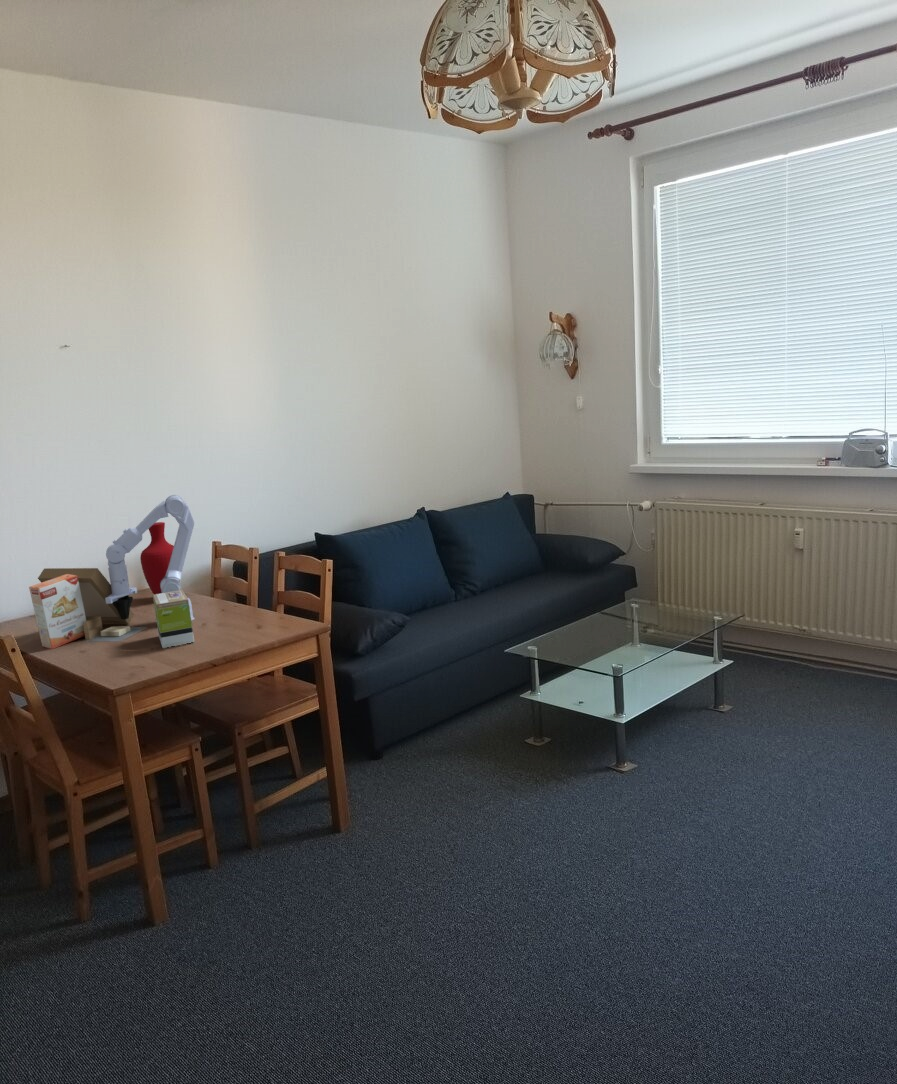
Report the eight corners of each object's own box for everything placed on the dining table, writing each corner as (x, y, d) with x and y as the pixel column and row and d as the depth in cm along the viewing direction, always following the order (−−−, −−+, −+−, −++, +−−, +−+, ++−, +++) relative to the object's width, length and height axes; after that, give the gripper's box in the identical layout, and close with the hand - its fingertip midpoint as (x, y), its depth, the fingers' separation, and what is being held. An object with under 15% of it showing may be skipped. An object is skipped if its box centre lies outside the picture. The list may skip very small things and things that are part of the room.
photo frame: (130, 625, 295) (85, 593, 275) (79, 624, 302) (31, 593, 281) (143, 587, 302) (100, 553, 282) (93, 587, 309) (47, 554, 288)
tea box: (157, 637, 278) (151, 593, 275) (189, 632, 281) (183, 588, 279) (161, 649, 264) (155, 603, 261) (195, 643, 268) (189, 597, 265)
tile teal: (129, 626, 286) (118, 631, 280) (130, 631, 286) (119, 636, 280) (111, 626, 288) (100, 631, 282) (112, 631, 288) (101, 636, 282)
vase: (138, 604, 326) (128, 527, 321) (158, 594, 340) (147, 520, 335) (174, 603, 324) (164, 525, 318) (192, 593, 338) (182, 519, 332)
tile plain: (99, 633, 286) (96, 616, 285) (103, 633, 286) (100, 616, 285) (85, 639, 280) (82, 622, 279) (89, 639, 279) (87, 622, 278)
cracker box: (53, 650, 271) (38, 588, 266) (41, 647, 274) (27, 586, 269) (90, 634, 283) (77, 574, 277) (79, 631, 286) (66, 572, 280)
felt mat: (148, 628, 290) (148, 627, 290) (119, 642, 275) (119, 641, 275) (112, 628, 294) (112, 627, 293) (82, 642, 278) (82, 641, 278)
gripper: (122, 575, 294) (127, 612, 297) (95, 585, 281) (101, 624, 283) (139, 574, 292) (145, 612, 295) (113, 584, 279) (119, 624, 281)
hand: (124, 618), depth 289 cm, fingers closed
